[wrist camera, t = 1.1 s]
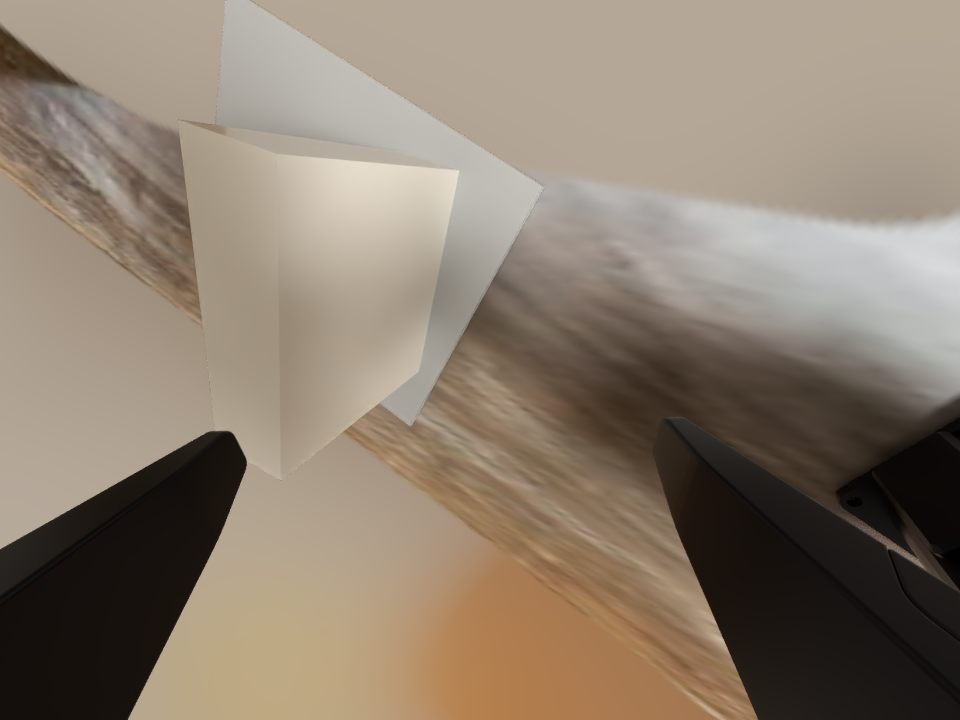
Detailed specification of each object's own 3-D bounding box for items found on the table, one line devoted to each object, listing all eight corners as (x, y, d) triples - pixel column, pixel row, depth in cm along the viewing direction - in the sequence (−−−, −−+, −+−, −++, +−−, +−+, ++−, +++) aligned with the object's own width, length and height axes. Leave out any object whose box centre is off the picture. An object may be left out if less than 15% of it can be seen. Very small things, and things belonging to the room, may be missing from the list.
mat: (544, 186, 17) (542, 186, 16) (412, 424, 25) (410, 426, 25) (232, -12, 18) (226, -15, 18) (207, 271, 27) (203, 272, 27)
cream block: (459, 170, 17) (277, 154, 9) (418, 371, 23) (281, 481, 14) (393, 149, 18) (169, 116, 10) (369, 349, 23) (211, 439, 15)
